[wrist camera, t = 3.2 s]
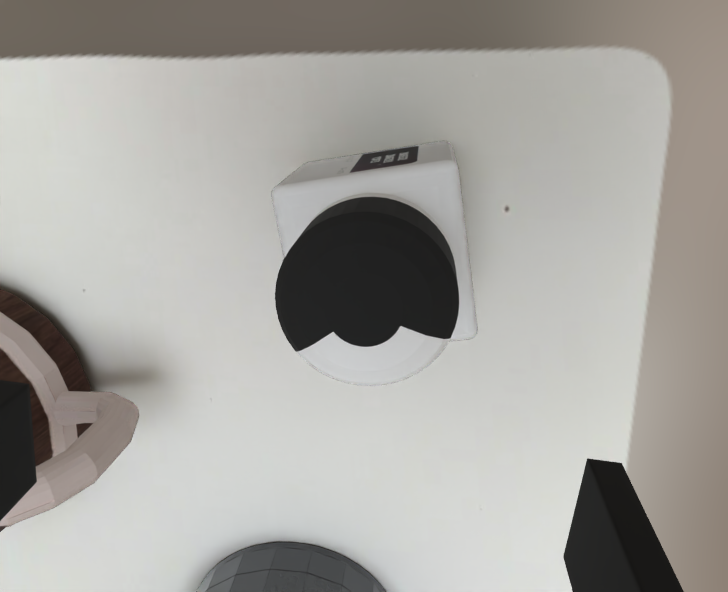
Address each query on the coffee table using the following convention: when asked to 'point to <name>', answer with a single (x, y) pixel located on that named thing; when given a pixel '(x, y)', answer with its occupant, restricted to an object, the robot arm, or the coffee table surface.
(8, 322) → the mug
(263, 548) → the pan
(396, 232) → the container
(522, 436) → the coffee table surface
